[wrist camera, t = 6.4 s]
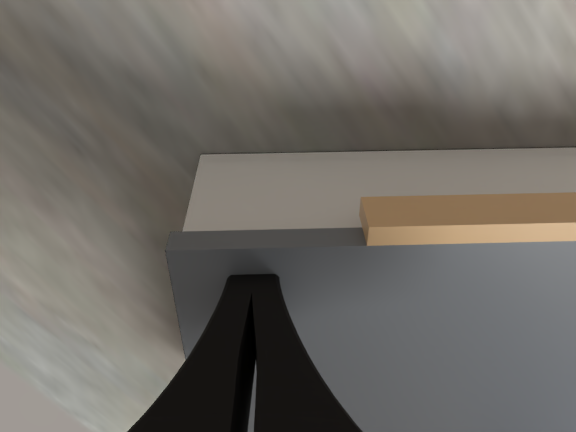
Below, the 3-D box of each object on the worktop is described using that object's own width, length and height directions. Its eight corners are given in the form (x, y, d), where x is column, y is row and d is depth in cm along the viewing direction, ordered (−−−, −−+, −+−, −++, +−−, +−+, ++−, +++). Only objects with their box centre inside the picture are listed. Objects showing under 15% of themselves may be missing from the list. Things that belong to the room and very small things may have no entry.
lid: (597, 445, 22) (615, 478, 21) (213, 458, 21) (210, 492, 20) (759, 188, 14) (803, 217, 13) (170, 200, 14) (161, 231, 13)
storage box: (545, 362, 25) (599, 458, 21) (225, 371, 25) (217, 471, 21) (638, 146, 19) (744, 225, 14) (200, 154, 18) (180, 238, 14)
